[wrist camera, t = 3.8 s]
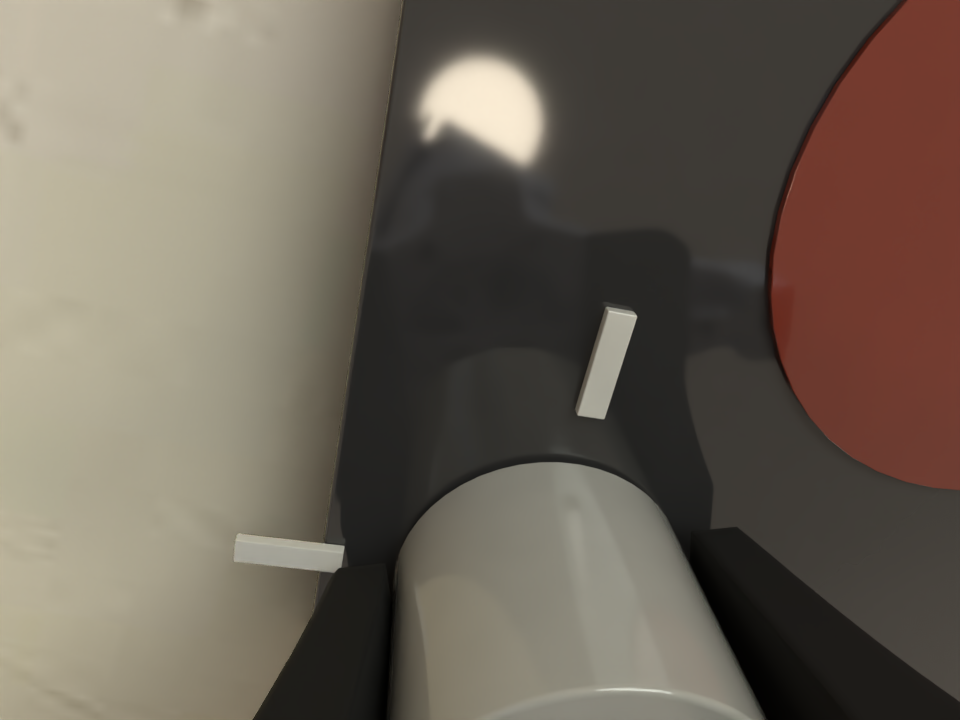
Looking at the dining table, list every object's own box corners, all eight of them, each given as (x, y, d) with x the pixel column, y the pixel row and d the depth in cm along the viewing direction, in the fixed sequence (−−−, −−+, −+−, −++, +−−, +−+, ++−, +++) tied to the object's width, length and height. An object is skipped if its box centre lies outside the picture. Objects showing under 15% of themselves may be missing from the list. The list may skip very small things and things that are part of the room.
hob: (248, 649, 13) (215, 761, 11) (358, -441, 7) (331, -624, 5) (893, 710, 15) (965, 814, 13) (1406, -100, 9) (1683, -135, 7)
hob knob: (404, 693, 11) (393, 1009, 7) (380, 469, 9) (354, 743, 5) (665, 672, 11) (777, 971, 7) (692, 449, 9) (853, 704, 6)
